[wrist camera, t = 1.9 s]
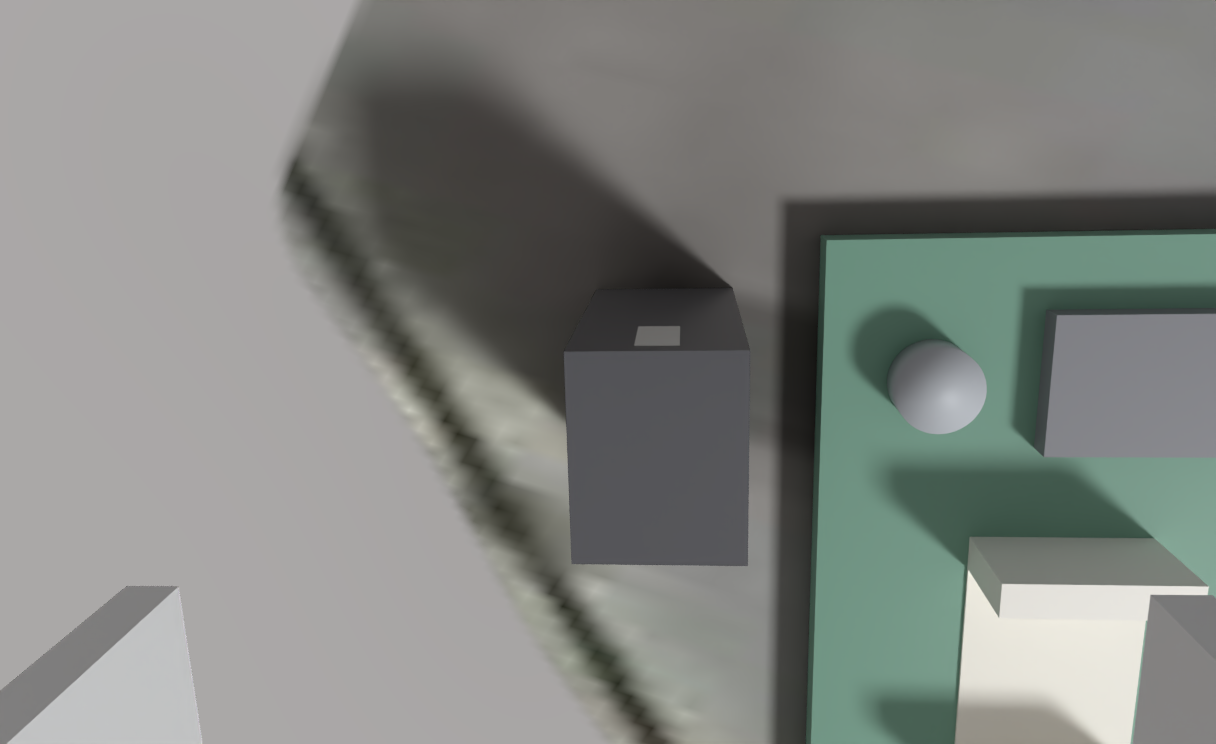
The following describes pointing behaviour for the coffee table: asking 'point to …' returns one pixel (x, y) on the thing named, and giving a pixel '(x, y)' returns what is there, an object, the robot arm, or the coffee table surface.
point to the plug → (658, 429)
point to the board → (1005, 479)
